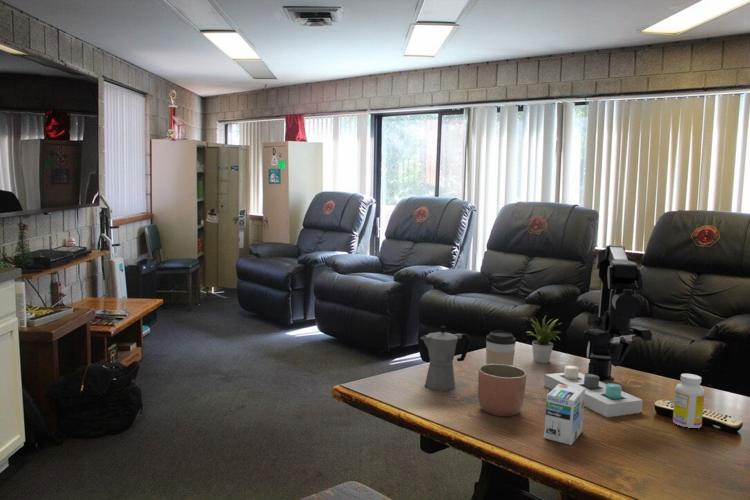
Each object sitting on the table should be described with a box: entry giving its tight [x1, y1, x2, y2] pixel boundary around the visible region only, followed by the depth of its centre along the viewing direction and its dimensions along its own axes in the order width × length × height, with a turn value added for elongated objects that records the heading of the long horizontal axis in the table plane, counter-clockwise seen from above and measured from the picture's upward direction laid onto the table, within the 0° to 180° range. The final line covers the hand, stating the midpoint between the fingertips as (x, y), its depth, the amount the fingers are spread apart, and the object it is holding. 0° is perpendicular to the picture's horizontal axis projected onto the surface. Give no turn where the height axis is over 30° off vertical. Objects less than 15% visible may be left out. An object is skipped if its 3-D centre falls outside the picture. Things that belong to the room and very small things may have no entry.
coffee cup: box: [485, 329, 517, 366], centre depth 185 cm, size 9×9×15 cm
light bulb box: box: [543, 384, 585, 446], centre depth 145 cm, size 11×7×11 cm, turn 148°
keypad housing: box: [543, 372, 644, 418], centre depth 172 cm, size 12×26×4 cm, turn 22°
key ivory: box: [563, 365, 580, 381], centre depth 180 cm, size 4×4×4 cm
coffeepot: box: [420, 325, 472, 392], centre depth 177 cm, size 15×9×18 cm, turn 101°
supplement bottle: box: [672, 373, 705, 429], centre depth 155 cm, size 7×7×13 cm
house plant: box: [521, 314, 562, 364], centre depth 208 cm, size 14×14×16 cm
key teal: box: [605, 382, 623, 400], centre depth 164 cm, size 4×4×4 cm
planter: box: [477, 364, 528, 417], centre depth 159 cm, size 12×12×11 cm
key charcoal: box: [584, 373, 599, 390], centre depth 172 cm, size 4×4×4 cm
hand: (615, 366), depth 163 cm, fingers closed
